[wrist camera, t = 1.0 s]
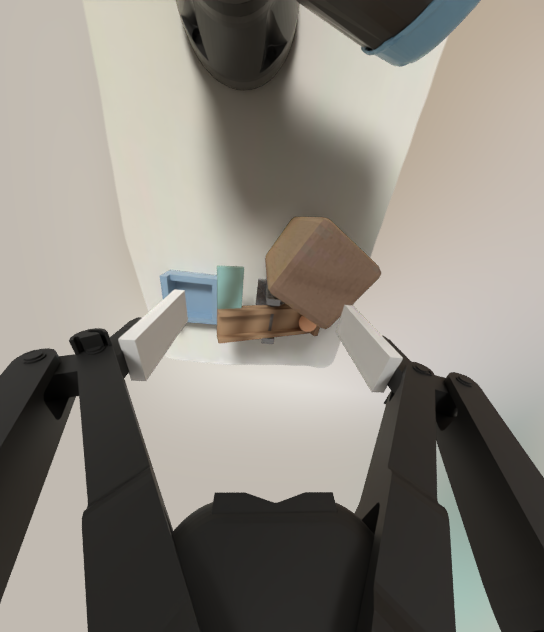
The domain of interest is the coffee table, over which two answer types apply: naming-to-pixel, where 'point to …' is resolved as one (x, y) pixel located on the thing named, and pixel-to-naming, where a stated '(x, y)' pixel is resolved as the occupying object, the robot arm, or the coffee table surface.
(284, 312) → the lever
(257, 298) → the fulcrum
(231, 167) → the coffee table surface
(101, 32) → the coffee table surface
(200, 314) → the blue square tray
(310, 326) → the ball
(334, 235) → the wooden block
